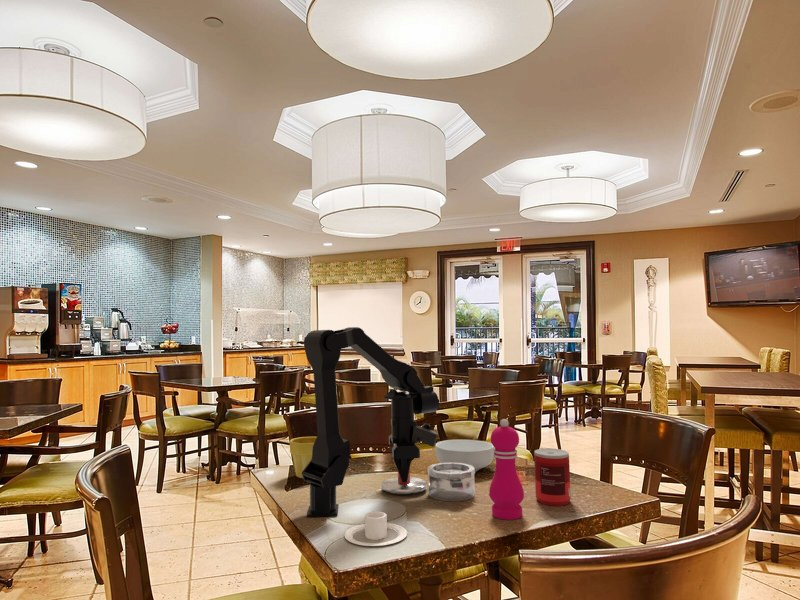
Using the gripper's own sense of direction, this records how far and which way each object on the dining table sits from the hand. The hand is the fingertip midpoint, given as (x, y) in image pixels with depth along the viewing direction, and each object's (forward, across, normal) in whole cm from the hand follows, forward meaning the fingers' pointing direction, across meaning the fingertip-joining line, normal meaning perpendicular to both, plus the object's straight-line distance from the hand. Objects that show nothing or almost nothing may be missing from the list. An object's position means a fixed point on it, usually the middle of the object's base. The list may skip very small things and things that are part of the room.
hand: (403, 480), depth 132 cm
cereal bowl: (+3, +18, -19) cm, 26 cm away
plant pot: (+3, +18, +25) cm, 31 cm away
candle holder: (+3, -29, +8) cm, 30 cm away
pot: (+2, -5, -11) cm, 12 cm away
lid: (+2, 0, 0) cm, 2 cm away
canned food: (+3, -13, -33) cm, 36 cm away
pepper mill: (+3, -21, -20) cm, 29 cm away
